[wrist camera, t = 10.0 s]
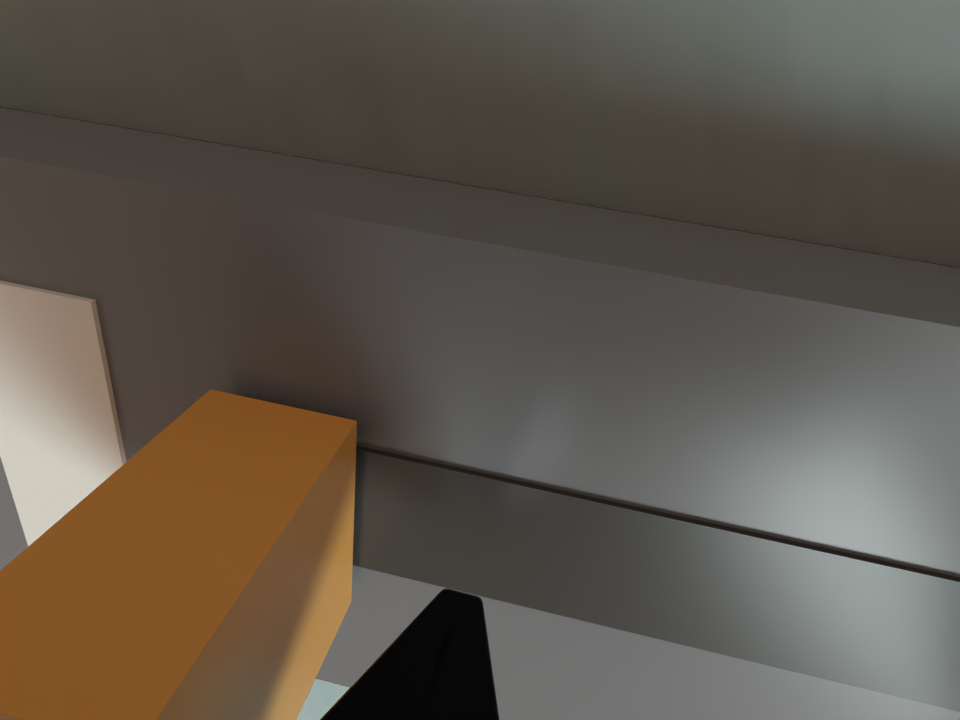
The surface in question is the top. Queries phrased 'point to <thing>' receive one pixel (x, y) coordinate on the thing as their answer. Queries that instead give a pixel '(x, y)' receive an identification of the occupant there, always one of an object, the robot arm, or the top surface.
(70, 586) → the handle
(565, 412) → the panel
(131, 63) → the top surface
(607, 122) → the top surface
